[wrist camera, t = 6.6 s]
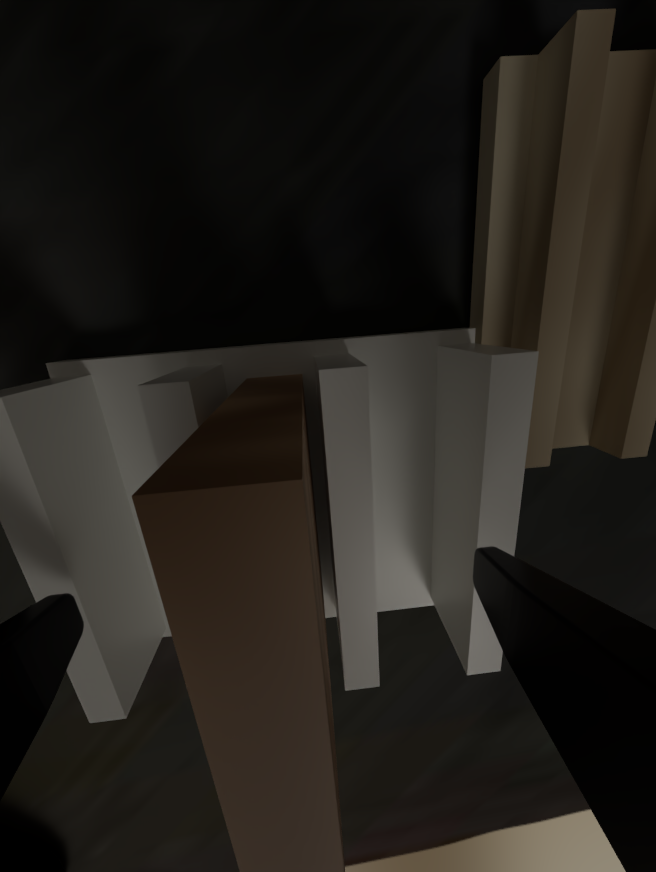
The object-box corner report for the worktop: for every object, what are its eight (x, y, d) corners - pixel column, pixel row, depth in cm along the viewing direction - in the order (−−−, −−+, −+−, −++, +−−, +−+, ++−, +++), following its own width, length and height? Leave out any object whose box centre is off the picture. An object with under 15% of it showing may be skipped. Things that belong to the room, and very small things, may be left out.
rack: (463, 327, 11) (545, 330, 7) (450, 586, 14) (502, 680, 10) (64, 360, 10) (-68, 381, 6) (147, 621, 13) (90, 732, 10)
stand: (692, 69, 9) (797, 1, 7) (617, 432, 12) (675, 453, 10) (483, 79, 9) (533, 12, 7) (462, 447, 12) (493, 471, 10)
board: (302, 373, 10) (302, 480, 3) (323, 594, 12) (347, 903, 6) (246, 378, 10) (132, 495, 3) (279, 598, 12) (253, 917, 6)
